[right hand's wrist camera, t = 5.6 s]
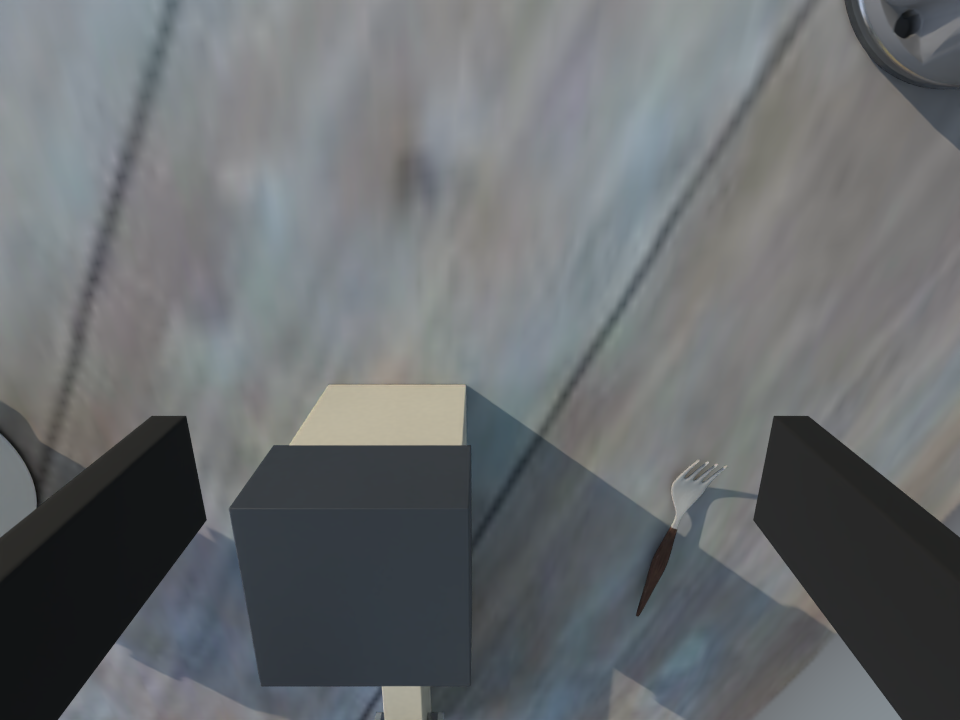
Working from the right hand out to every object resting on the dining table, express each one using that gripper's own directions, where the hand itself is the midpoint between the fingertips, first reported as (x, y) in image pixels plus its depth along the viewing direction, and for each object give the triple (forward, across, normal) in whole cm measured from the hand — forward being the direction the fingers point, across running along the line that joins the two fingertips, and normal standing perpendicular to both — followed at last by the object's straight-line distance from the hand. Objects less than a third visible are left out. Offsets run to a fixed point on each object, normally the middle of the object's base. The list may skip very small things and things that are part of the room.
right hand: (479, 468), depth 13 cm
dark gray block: (+17, +6, +14) cm, 23 cm away
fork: (+27, -15, +22) cm, 38 cm away
